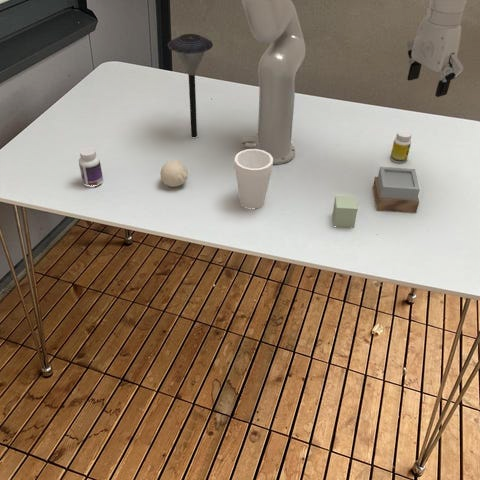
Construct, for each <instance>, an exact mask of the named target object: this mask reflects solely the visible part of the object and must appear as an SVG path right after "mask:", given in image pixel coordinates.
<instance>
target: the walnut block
mask: <svg viewBox="0 0 480 480" xmlns="http://www.w3.org/2000/svg"><path fill="white" fill-rule="evenodd" d="M372 192H373V197H374V204H375V208H376V211H377V212H378V211H379V212H380V211H381V212H397V213H415V214H416V213H417V211H418V208H419V203H420V200H419V199H420V198H419V197H418V198H417V201H414V200H399V199H386V198H380V191H379V184H378V176H374V179H373V184H372Z"/></svg>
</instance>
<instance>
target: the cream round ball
mask: <svg viewBox="0 0 480 480" xmlns="http://www.w3.org/2000/svg"><path fill="white" fill-rule="evenodd" d="M160 178H161V181H162V182H163V184H165V185H166V186H168V187H173V188H177V187H180V186H182V184H184V183H186V182H187V180H188V178H189V173H188V168H187V167H185V165H184V164H183V163H182V162H181V161H177V160H169V161H167V162H165V163H164V164H163V165H162V166H161V169H160Z"/></svg>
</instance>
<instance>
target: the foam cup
mask: <svg viewBox="0 0 480 480" xmlns="http://www.w3.org/2000/svg"><path fill="white" fill-rule="evenodd" d="M234 157H235V158H234V167H233V168H234V170H235V175H236V183H237V189H238V197H239V203H240V202H241V203H240V205H241V204H242V205H243V206H245V207H247V208H246V209H248V208H251V209H250V210H253V209H252V208H258V209H260V208H262V207H263V206H264V205H265V201H266V196H267V192H268V188H269V183H270V178H271V174H272V172H273V168H274V167H273V166H274V164H273V157H272V156H271V155H270V154H269V153H267V152H266V151H264V150H259V149H252V148H247V149H244V150H241V151H239V152H238V153H237V154H236V155H235V156H234ZM242 205H241V206H242ZM243 206H242V207H243ZM245 207H244V208H245ZM259 207H260V208H259Z"/></svg>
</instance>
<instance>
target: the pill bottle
mask: <svg viewBox="0 0 480 480" xmlns="http://www.w3.org/2000/svg"><path fill="white" fill-rule="evenodd" d="M79 156H80V157H79V159H78V167H79V171H80V174H81V175H80V176H81V181H82V184H83V183H84V184H86V185H90V186H91V185H92V186H93V185H98V184H100V183H101V182H102V181H103V182H104V175H103V171H102V165H101V160H100V157H99V156H98V155H97V152H96V148H93V147H90V146H89V147H83V148H82V149H80V150H79ZM84 184H83V185H84Z"/></svg>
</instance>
